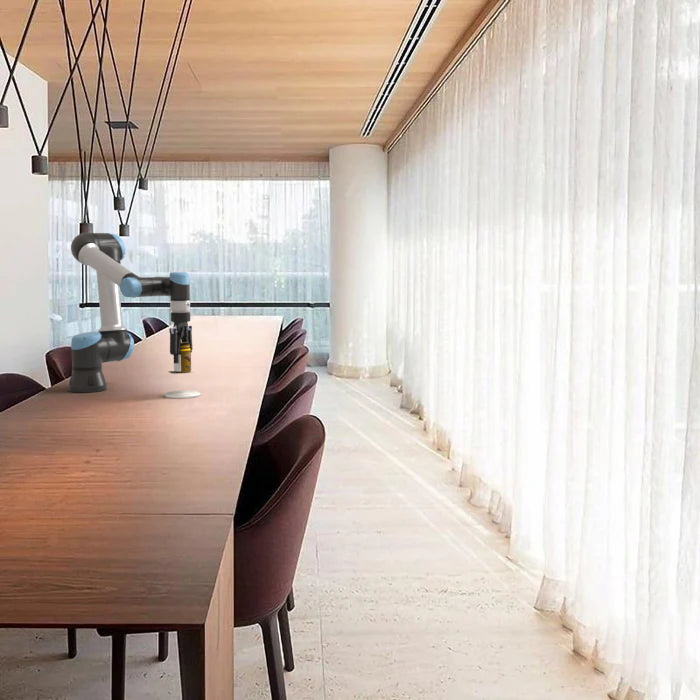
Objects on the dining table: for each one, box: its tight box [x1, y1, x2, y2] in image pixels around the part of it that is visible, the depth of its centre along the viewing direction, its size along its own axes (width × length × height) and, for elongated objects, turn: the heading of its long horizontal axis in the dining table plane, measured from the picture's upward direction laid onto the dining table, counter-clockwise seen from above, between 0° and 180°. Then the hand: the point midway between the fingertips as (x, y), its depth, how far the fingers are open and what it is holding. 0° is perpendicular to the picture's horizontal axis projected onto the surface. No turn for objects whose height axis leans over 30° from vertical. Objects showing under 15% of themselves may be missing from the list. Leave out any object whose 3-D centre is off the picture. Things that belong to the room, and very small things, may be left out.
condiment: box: [167, 341, 195, 375], centre depth 308 cm, size 7×8×12 cm
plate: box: [163, 389, 201, 400], centre depth 310 cm, size 14×14×1 cm
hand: (181, 370), depth 309 cm, fingers closed on condiment, 6 cm apart
